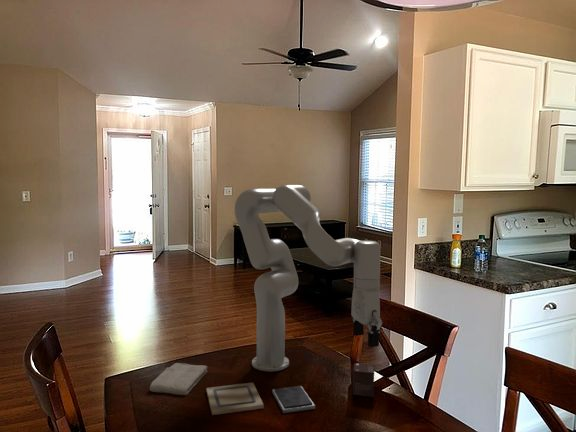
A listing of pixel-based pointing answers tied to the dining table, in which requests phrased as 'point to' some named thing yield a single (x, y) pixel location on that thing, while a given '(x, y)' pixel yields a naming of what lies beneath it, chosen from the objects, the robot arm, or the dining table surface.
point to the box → (363, 380)
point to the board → (233, 398)
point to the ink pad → (293, 399)
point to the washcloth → (178, 378)
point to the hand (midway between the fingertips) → (365, 340)
